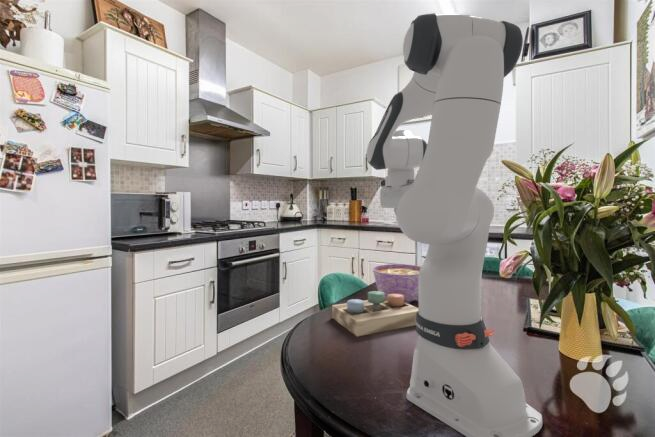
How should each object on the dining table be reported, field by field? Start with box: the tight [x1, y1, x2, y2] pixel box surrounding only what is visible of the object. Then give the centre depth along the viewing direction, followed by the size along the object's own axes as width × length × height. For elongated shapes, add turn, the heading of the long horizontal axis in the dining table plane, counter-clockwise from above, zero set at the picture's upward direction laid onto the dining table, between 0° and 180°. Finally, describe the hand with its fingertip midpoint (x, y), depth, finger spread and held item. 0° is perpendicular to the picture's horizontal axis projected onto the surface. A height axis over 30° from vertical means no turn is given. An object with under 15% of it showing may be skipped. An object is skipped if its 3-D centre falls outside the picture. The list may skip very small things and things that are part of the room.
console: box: [331, 297, 419, 337], centre depth 99 cm, size 16×22×4 cm
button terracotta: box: [387, 294, 404, 309], centre depth 102 cm, size 5×5×6 cm
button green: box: [367, 290, 385, 312], centre depth 99 cm, size 5×5×6 cm
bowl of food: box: [372, 263, 422, 304], centre depth 120 cm, size 20×20×12 cm
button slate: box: [346, 298, 364, 315], centre depth 96 cm, size 5×5×6 cm
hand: (401, 221), depth 111 cm, fingers closed
